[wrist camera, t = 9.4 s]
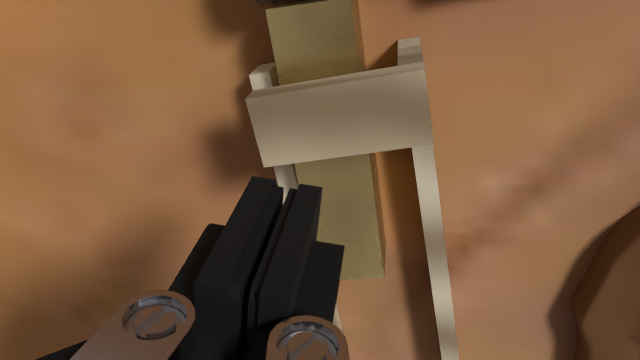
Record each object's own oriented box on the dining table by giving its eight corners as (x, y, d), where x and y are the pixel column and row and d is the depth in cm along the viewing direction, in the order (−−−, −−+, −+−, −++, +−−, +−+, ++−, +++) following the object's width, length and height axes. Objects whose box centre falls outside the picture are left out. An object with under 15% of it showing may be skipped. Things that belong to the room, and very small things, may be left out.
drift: (386, 240, 30) (384, 278, 27) (325, 243, 31) (316, 280, 27) (357, -13, 24) (350, -3, 21) (282, -2, 25) (265, 9, 22)
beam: (460, 372, 33) (472, 461, 28) (339, 378, 35) (328, 462, 29) (391, -184, 21) (389, -223, 15) (208, -134, 22) (145, -152, 17)
